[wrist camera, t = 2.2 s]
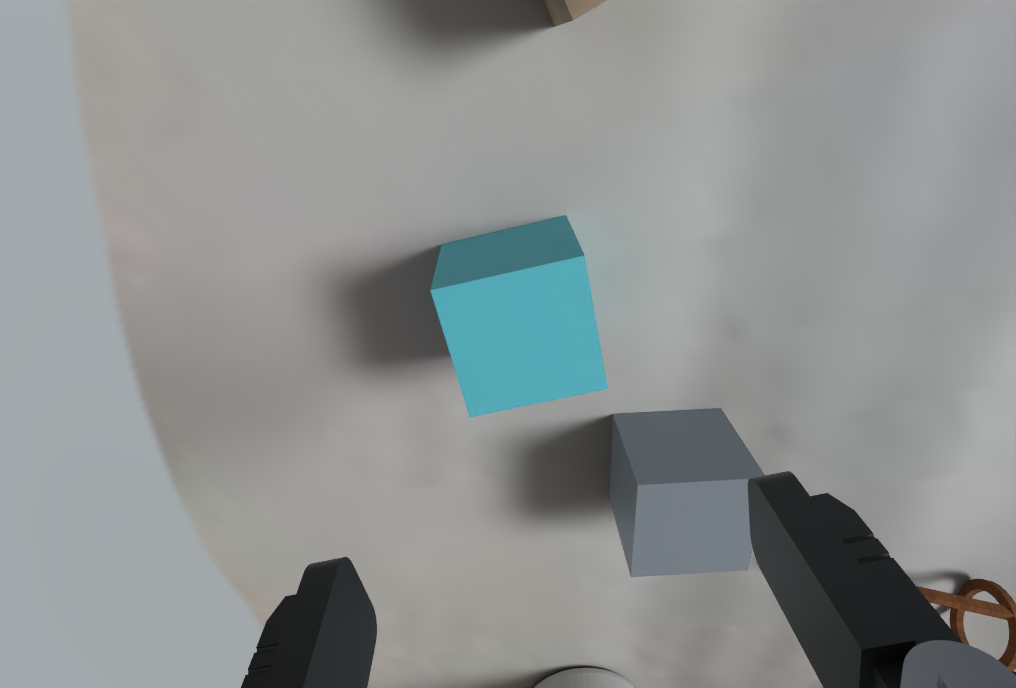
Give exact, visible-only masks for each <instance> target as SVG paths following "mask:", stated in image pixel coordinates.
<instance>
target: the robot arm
mask: <svg viewBox="0 0 1016 688" xmlns="http://www.w3.org/2000/svg"><path fill="white" fill-rule="evenodd" d="M748 503H749V522H750V538H751V543H752V547H753V551H754V554H755V557H756V560H757V563H758V565H759V567H760V569H761V571H762V573H763V575H764V577H765V579H766V581H767V582H768V584H769V586H770V588H771V590H772V592H773V594H774V596H775V597H776V599H777V601H778V603H779V605H780V607H781V609H782V611H783V612H784V614H785V616H786V618H787V620H788V622H789V624H790V626H791V627H792V629H793V631H794V633H795V635H796V637H797V639H798V641H799V642H800V644H801V646H802V648H803V650H804V652H805V654H806V656H807V657H808V659H809V661H810V663H811V665H812V667H813V669H814V671H815V672H816V674H817V676H818V678H819V680H820V682H821V684H822V686H823V687H824V688H1016V672H1013V671H1011V670H1010V669H1009V668H1007V667H1006V666H1005V665H1004V664H1002V663H1001V662H1000V661H998V660H997V659H995V658H994V657H992V656H991V655H989V654H987V653H985V652H983V651H981V650H979V649H977V648H974V647H972V646H969V645H967V644H964V643H963V642H962V641H961V640H960V639H959V638H958V637H957V636H956V635H955V634H954V632H953V631H952V630H951V629H950V628H949V626H948V625H947V624H946V623H945V621H944V620H943V619H942V618H941V617H940V615H939V614H938V613H937V612H936V610H935V609H934V608H933V607H932V605H931V604H930V603H929V602H928V600H927V599H926V598H925V597H924V596H923V594H922V593H921V592H920V591H919V589H918V588H917V587H916V586H915V584H914V583H913V582H912V581H911V579H910V578H909V577H908V576H907V575H906V573H905V572H904V571H903V570H902V568H901V567H900V566H899V565H898V563H897V562H896V561H895V560H894V558H891V557H890V556H889V552H888V551H887V550H886V549H885V547H884V546H883V545H882V544H881V542H880V541H879V540H878V539H877V538H875V537H874V535H873V533H872V531H871V530H870V529H869V528H868V526H867V525H866V524H865V523H864V521H863V520H862V519H861V518H860V516H859V515H858V514H857V513H856V512H855V510H853V509H851V508H850V507H848V506H847V505H845V504H844V503H842V502H841V501H839V500H837V499H836V498H834V497H833V496H831V495H830V494H828V493H825V494H820V495H815V496H809V494H808V493H807V492H806V490H805V489H804V487H803V486H802V485H801V483H800V482H799V481H798V479H797V478H796V477H795V475H794V474H793V473H791V472H789V471H787V472H782V473H776V474H771V475H766V476H761V477H756V478H751V479H749V480H748ZM376 637H377V622H376V615H375V611H374V607H373V605H372V603H371V601H370V599H369V597H368V595H367V593H366V590H365V588H364V586H363V584H362V582H361V580H360V578H359V576H358V574H357V572H356V570H355V568H354V566H353V564H352V562H351V560H350V559H349V558H347V557H343V558H338V559H333V560H328V561H323V562H318V563H313V564H310V565H308V566H307V568H306V569H305V571H304V574H303V577H302V579H301V582H300V585H299V588H298V591H297V594H295V595H290V596H285V598H284V599H283V600H282V602H281V603H280V604H279V606H278V607H277V608H276V610H275V611H274V612H273V613H272V615H271V616H270V617H269V619H268V620H267V622H266V624H265V627H264V629H263V632H262V634H261V637H260V640H259V643H258V645H257V647H256V648H257V652H256V653H254V655H253V658H252V660H251V663H250V666H249V668H248V675H246V676H245V678H244V681H243V683H242V686H241V688H367V686H368V681H369V675H370V670H371V665H372V659H373V654H374V649H375V643H376Z"/></svg>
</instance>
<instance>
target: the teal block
mask: <svg viewBox="0 0 1016 688" xmlns="http://www.w3.org/2000/svg"><path fill="white" fill-rule="evenodd" d="M430 291H431V294H432V297H433V301H434V304H435V307H436V310H437V313H438V317H439V320H440V323H441V326H442V330H443V333H444V336H445V339H446V342H447V346H448V349H449V352H450V355H451V359H452V362H453V365H454V368H455V371H456V375H457V378H458V381H459V384H460V388H461V391H462V394H463V397H464V400H465V404H466V407H467V410H468V413H469V417H474V416H478V415H483V414H488V413H493V412H498V411H502V410H507V409H512V408H517V407H522V406H527V405H531V404H536V403H541V402H546V401H551V400H555V399H560V398H565V397H570V396H575V395H580V394H584V393H589V392H594V391H599V390H604V389H608V387H607V381H606V375H605V370H604V364H603V358H602V353H601V347H600V341H599V335H598V330H597V324H596V318H595V312H594V307H593V301H592V295H591V290H590V284H589V278H588V272H587V267H586V261H585V255H584V253H583V251H582V249H581V247H580V245H579V242H578V240H577V238H576V236H575V234H574V232H573V229H572V227H571V225H570V223H569V221H568V219H567V216H561V217H557V218H553V219H549V220H544V221H540V222H536V223H531V224H527V225H523V226H518V227H514V228H510V229H505V230H501V231H497V232H492V233H488V234H484V235H480V236H475V237H471V238H467V239H462V240H458V241H454V242H449V243H445V244H442V245H441V249H440V253H439V257H438V261H437V265H436V269H435V273H434V278H433V282H432V286H431V290H430Z"/></svg>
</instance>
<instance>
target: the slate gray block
mask: <svg viewBox="0 0 1016 688" xmlns="http://www.w3.org/2000/svg"><path fill="white" fill-rule="evenodd" d="M761 476H765V475H764V473H763V472H762V470H761V469H760V467H759V466H758V464H757V463H756V461H755V460H754V458H753V456H752V455H751V453H750V452H749V450H748V449H747V447H746V446H745V444H744V443H743V441H742V440H741V438H740V437H739V435H738V434H737V432H736V431H735V429H734V428H733V426H732V424H731V423H730V421H729V420H728V418H727V417H726V415H725V414H724V412H723V411H722V409H721V408H713V409H694V410H676V411H657V412H639V413H620V414H613V423H612V445H611V466H610V488H609V499H610V502H611V506H612V510H613V513H614V517H615V521H616V524H617V528H618V532H619V535H620V539H621V542H622V546H623V550H624V553H625V557H626V561H627V564H628V568H629V572H630V575H631V577H640V576H657V575H674V574H692V573H709V572H726V571H743V570H748V568H749V563H750V558H751V553H752V548H753V547H752V543H751V538H750V522H749V503H748V480H749V479H751V478H756V477H761Z"/></svg>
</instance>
